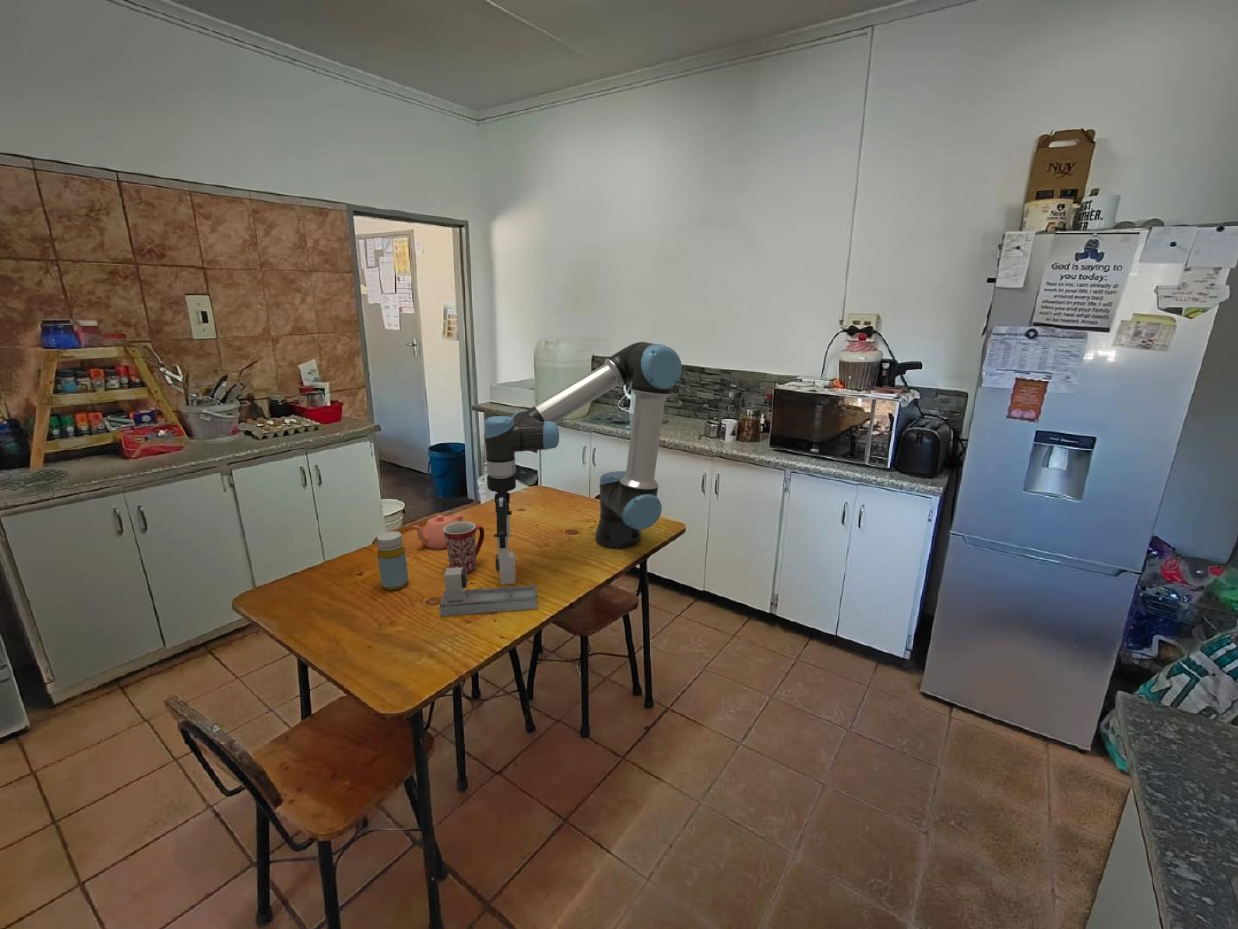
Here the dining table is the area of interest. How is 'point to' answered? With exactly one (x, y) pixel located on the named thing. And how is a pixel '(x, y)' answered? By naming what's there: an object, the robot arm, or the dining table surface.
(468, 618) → the dining table surface
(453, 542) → the mug
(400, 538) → the bottle
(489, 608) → the rail
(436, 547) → the teapot
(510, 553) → the small grey block
